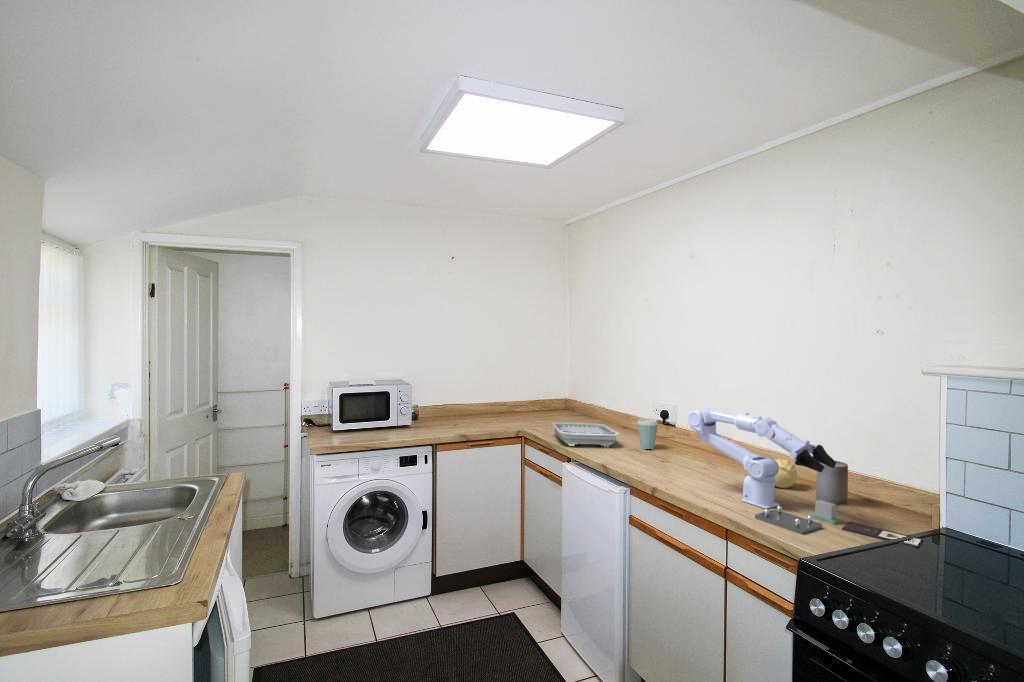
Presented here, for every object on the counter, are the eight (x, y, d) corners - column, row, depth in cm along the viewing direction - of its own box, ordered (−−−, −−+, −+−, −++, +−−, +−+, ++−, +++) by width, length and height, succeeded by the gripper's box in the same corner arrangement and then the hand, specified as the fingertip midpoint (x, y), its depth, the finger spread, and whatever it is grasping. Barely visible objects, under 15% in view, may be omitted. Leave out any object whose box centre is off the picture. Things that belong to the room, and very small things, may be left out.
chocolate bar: (849, 521, 165) (921, 538, 152) (849, 524, 165) (921, 541, 152) (842, 528, 158) (916, 546, 145) (841, 531, 158) (916, 550, 145)
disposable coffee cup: (654, 452, 259) (655, 422, 258) (633, 449, 264) (634, 419, 264) (659, 448, 268) (660, 419, 268) (639, 445, 273) (640, 417, 273)
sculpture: (793, 492, 197) (794, 463, 197) (759, 485, 204) (760, 458, 204) (798, 485, 206) (799, 458, 206) (765, 480, 213) (766, 453, 213)
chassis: (755, 518, 166) (755, 508, 166) (775, 512, 172) (775, 503, 172) (801, 534, 154) (802, 523, 154) (822, 527, 159) (822, 517, 159)
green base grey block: (810, 517, 169) (810, 500, 169) (817, 515, 171) (817, 498, 171) (833, 525, 163) (834, 507, 163) (840, 522, 165) (841, 505, 165)
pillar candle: (842, 498, 191) (843, 457, 191) (851, 506, 181) (852, 463, 181) (812, 495, 193) (813, 455, 193) (819, 503, 184) (820, 461, 184)
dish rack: (604, 435, 299) (604, 422, 299) (622, 450, 263) (622, 434, 263) (549, 435, 297) (550, 421, 297) (559, 449, 261) (560, 433, 260)
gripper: (782, 435, 168) (822, 461, 158) (805, 429, 176) (845, 453, 166) (773, 453, 171) (812, 479, 161) (797, 446, 179) (835, 471, 169)
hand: (828, 467), depth 164 cm, fingers open, 7 cm apart
